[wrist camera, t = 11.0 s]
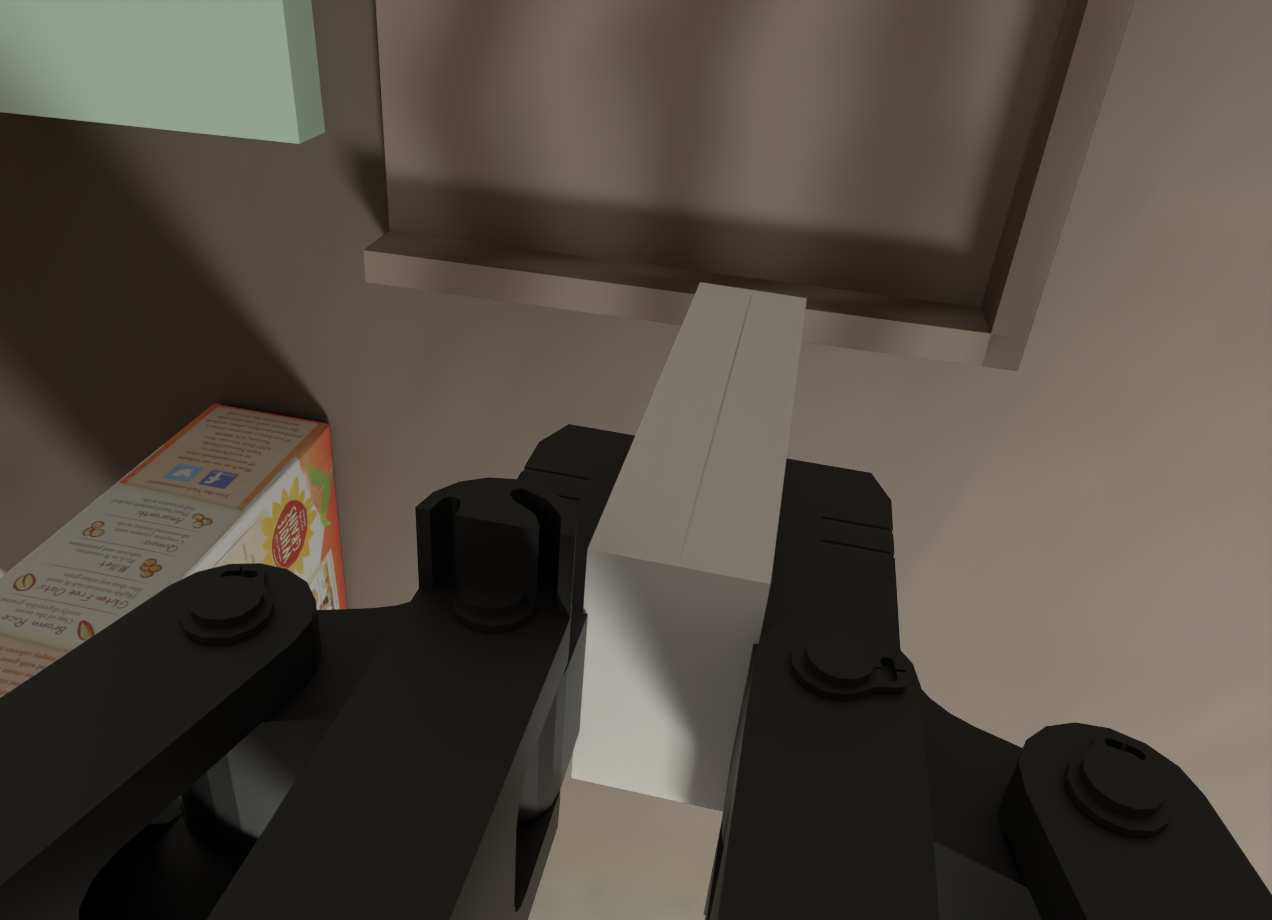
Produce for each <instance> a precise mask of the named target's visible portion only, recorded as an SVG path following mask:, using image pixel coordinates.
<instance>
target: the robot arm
mask: <svg viewBox="0 0 1272 920" xmlns="http://www.w3.org/2000/svg"><path fill="white" fill-rule="evenodd" d="M806 300H807V298H802V297H795V296H789V295H782V294H775V293H769V292H762V291H755V290H749V289H742V288H735V287H728V286H722V285H715V284H708V283H702V282H700V284H699V286H698V288H697V291H696V293H695V295H694V298H693V300H692V303H691V305H690V307H689V310H688V312H687V314H686V317H685V319H684V321H683V324H682V326H681V329H680V331H679V333H678V336H677V338H676V340H675V343H674V345H673V348H672V350H671V352H670V355H669V357H668V359H667V362H666V364H665V367H664V369H663V371H662V374H661V376H660V378H659V381H658V383H657V386H656V388H655V390H654V393H653V395H652V397H651V400H650V402H649V405H648V407H647V409H646V412H645V414H644V416H643V419H642V421H641V424H640V426H639V428H638V431H637V433H636V435H635V436H634V435H628V434H622V433H616V432H611V431H605V430H599V429H593V428H587V427H581V426H576V425H570V424H568V425H567V426H565V427H563V428H562V429H560V430H558V431H557V432H555V433H553V434H552V435H550V436H549V437H547V438H545V439H544V440H542V441H540V442H539V443H538V445H537V447H536V448H535V450H534V452H533V453H532V455H531V457H530V458H529V460H528V462H527V463H526V465H525V468H524V471H522V472H521V473H520V475H519V477H518V478H517V479H503V478H482V479H475V480H468V481H461V482H457V483H455V484H452V485H450V486H447V487H445V488H442V489H440V490H437V491H435V492H433V493H432V494H430V495H429V496H428V497H427V498H426V499H425V500H423V501H422V502H421V503H420V504H419V505H418V506H417V507H415V508H416V530H417V552H418V575H419V589H418V591H417V592H416V594H415V595H414V597H413V599H412V600H411V602H408V603H404V604H400V605H397V606H388V607H379V608H365V609H334V610H317V607H316V600H315V597H314V595H313V593H312V591H311V589H310V587H309V585H308V583H307V582H306V581H305V580H303V579H302V578H300V577H299V576H297V575H296V574H294V573H293V572H291V571H290V570H288V569H284V568H279V567H275V566H271V565H266V564H262V563H250V564H227V565H223V566H219V567H215V568H211V569H207V570H203V571H199V572H196V573H194V574H192V575H190V576H188V577H186V578H184V579H182V580H180V581H178V582H176V583H173V584H171V585H169V586H168V587H166V588H165V589H163V590H162V591H160V592H159V593H157V594H156V595H154V596H153V597H151V598H150V599H148V600H147V601H145V602H144V603H142V604H141V605H139V606H138V607H136V608H135V609H133V610H132V611H130V612H129V613H127V614H126V615H124V616H123V617H121V618H120V619H118V620H117V621H115V622H114V623H112V624H111V625H109V626H108V627H106V628H105V629H103V630H102V631H100V632H99V633H97V634H96V635H94V636H92V637H91V638H89V639H88V640H86V641H85V642H83V643H82V644H80V645H79V646H77V647H76V648H74V649H73V650H71V651H70V652H68V653H67V654H65V655H64V656H62V657H61V658H59V659H58V660H56V661H55V662H53V663H52V664H50V665H49V666H47V667H46V668H44V669H43V670H41V671H40V672H38V673H37V674H35V675H34V676H32V677H31V678H29V679H28V680H26V681H25V682H23V683H22V684H20V685H19V686H17V687H16V688H14V689H13V690H11V691H10V692H8V693H7V694H5V695H4V696H2V697H1V698H0V920H528V917H529V914H530V911H531V908H532V905H533V902H534V898H535V895H536V892H537V889H538V886H539V883H540V880H541V877H542V874H543V871H544V867H545V864H546V861H547V858H548V855H549V852H550V849H551V846H552V843H553V840H554V836H555V833H556V830H557V827H558V816H559V804H560V788H561V785H562V782H563V779H564V776H565V773H566V770H567V767H568V764H569V761H570V758H571V755H572V752H573V764H572V778H574V779H579V780H583V781H588V782H592V783H597V784H601V785H606V786H610V787H615V788H619V789H624V790H628V791H633V792H637V793H642V794H647V795H651V796H656V797H660V798H665V799H669V800H674V801H678V802H683V803H687V804H692V805H696V806H701V807H705V808H710V809H714V810H719V811H723V816H722V823H721V828H720V833H719V838H718V843H717V848H716V853H715V859H714V864H713V869H712V874H711V879H710V884H709V889H708V894H707V899H706V904H705V909H704V915H706V917H705V920H1272V894H1271V893H1270V891H1269V890H1268V889H1267V887H1266V886H1265V884H1264V883H1263V881H1262V880H1261V878H1260V877H1259V875H1258V874H1257V872H1256V871H1255V869H1254V868H1253V866H1252V865H1251V863H1250V862H1249V860H1248V859H1247V857H1246V856H1245V854H1244V853H1243V851H1242V850H1241V848H1240V847H1239V845H1238V844H1237V843H1236V841H1235V840H1234V838H1233V837H1232V835H1231V834H1230V832H1229V831H1228V829H1227V828H1226V826H1225V825H1224V823H1223V822H1222V820H1221V819H1220V817H1219V816H1218V814H1217V813H1216V811H1215V810H1214V808H1213V807H1212V805H1211V804H1210V802H1209V801H1208V799H1207V798H1206V796H1205V795H1204V794H1203V793H1202V792H1201V791H1200V790H1199V788H1198V787H1197V786H1196V785H1195V784H1194V783H1193V782H1192V781H1191V780H1190V778H1189V777H1188V776H1187V775H1186V774H1185V773H1184V772H1183V771H1182V769H1181V768H1180V767H1179V766H1177V765H1176V764H1174V763H1173V762H1171V761H1170V760H1169V759H1167V758H1166V757H1164V756H1163V755H1161V754H1160V753H1158V752H1157V751H1156V750H1154V749H1153V748H1151V747H1150V746H1148V745H1147V744H1145V743H1143V742H1141V741H1138V740H1136V739H1133V738H1131V737H1129V736H1126V735H1124V734H1122V733H1119V732H1117V731H1115V730H1112V729H1110V728H1104V727H1098V726H1093V725H1087V724H1081V723H1068V724H1061V725H1053V726H1046V727H1045V728H1043V729H1042V730H1040V731H1039V732H1037V733H1036V734H1034V735H1033V736H1032V737H1030V738H1029V739H1027V740H1026V742H1025V744H1024V747H1023V748H1021V747H1019V746H1017V745H1014V744H1012V743H1010V742H1008V741H1005V740H1003V739H1001V738H999V737H996V736H994V735H992V734H990V733H987V732H985V731H983V730H981V729H978V728H976V727H974V726H972V725H970V724H969V723H967V722H965V721H963V720H961V719H959V718H957V717H956V716H954V715H952V714H950V713H949V712H947V711H946V710H945V709H943V708H942V707H941V706H939V705H938V704H937V703H935V702H934V701H933V700H932V699H930V698H929V697H928V696H927V695H926V694H925V692H924V691H923V690H922V689H921V686H920V683H919V680H918V677H917V674H916V672H915V669H914V666H913V664H912V663H911V661H910V660H909V659H908V658H907V657H906V656H905V655H904V654H903V653H902V651H901V649H900V638H899V621H898V605H897V589H896V572H895V558H893V556H894V540H893V534H892V530H893V523H892V507H891V500H890V498H889V497H888V496H887V494H886V493H885V491H884V490H883V489H882V487H881V486H880V485H879V483H878V482H877V481H876V479H875V478H874V476H873V475H872V474H871V473H868V472H862V471H856V470H850V469H845V468H839V467H833V466H827V465H821V464H815V463H810V462H804V461H798V460H792V459H786V458H787V450H788V442H789V435H790V427H791V419H792V411H793V403H794V395H795V387H796V379H797V371H798V363H799V355H800V347H801V340H802V332H803V324H804V316H805V308H806Z"/></svg>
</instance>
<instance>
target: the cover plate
mask: <svg viewBox="0 0 1272 920" xmlns="http://www.w3.org/2000/svg"><path fill="white" fill-rule="evenodd" d="M0 112H4V113H13V114H23V115H32V116H42V117H51V118H61V119H70V120H80V121H89V122H99V123H108V124H117V125H127V126H136V127H146V128H155V129H165V130H174V131H184V132H193V133H202V134H212V135H221V136H231V137H240V138H250V139H259V140H269V141H278V142H288V143H297V144H300V143H302V142H305V141H307V140H309V139H311V138H313V137H315V136H318V135H320V134H322V133H324V132H325V128H324V119H323V109H322V100H321V90H320V80H319V71H318V61H317V52H316V42H315V33H314V23H313V14H312V4H311V0H0Z"/></svg>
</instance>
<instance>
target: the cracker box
mask: <svg viewBox="0 0 1272 920" xmlns="http://www.w3.org/2000/svg"><path fill="white" fill-rule="evenodd" d="M250 563H262V564H266V565H271V566H275V567H279V568H284V569H288V570H290V571H291V572H293V573H294V574H296V575H297V576H299V577H300V578H302V579H303V580H305V581H306V582H307V583H308V585H309V587H310V589H311V591H312V593H313V595H314V597H315V600H316V607H317V610H334V609H347V602H346V592H345V581H344V574H343V563H342V553H341V543H340V531H339V521H338V511H337V501H336V491H335V480H334V472H333V460H332V450H331V440H330V431H329V425H328V424H327V423H323V422H318V421H312V420H306V419H301V418H295V417H289V416H283V415H278V414H272V413H267V412H261V411H255V410H249V409H244V408H237V407H231V406H226V405H221V404H217V403H215V404H212V405H211V406H210V407H209V408H208V409H206V410H205V411H204V412H203V413H201V414H200V415H199V416H198V417H197V418H195V419H194V420H193V421H192V422H190V423H189V424H188V425H187V426H185V427H184V428H183V429H182V430H180V431H179V432H178V433H177V434H175V435H174V436H173V437H172V438H171V439H170V440H168V441H167V442H166V443H165V444H164V445H162V446H161V447H160V448H158V449H157V450H156V451H155V452H153V453H152V454H151V455H150V456H148V457H147V458H146V459H145V460H143V461H142V462H141V463H140V464H138V465H137V466H136V467H135V468H134V469H133V470H132V471H130V472H129V473H128V474H126V475H125V476H124V477H123V478H122V479H120V480H119V481H118V482H117V483H116V484H114V485H113V486H112V487H111V488H110V489H109V490H107V491H106V492H105V493H104V494H102V495H101V496H100V497H98V498H97V499H96V500H95V501H94V502H92V503H91V504H90V505H89V506H88V507H86V508H85V509H84V510H83V511H81V512H80V513H79V514H78V515H77V516H75V517H74V518H73V519H72V520H70V521H69V522H68V523H67V524H66V525H64V526H63V527H62V528H61V529H59V530H58V531H57V532H56V533H55V534H53V535H52V536H51V537H50V538H49V539H47V540H46V541H45V542H44V543H42V544H41V545H40V546H39V547H38V548H36V549H35V550H34V551H33V552H31V553H30V554H29V555H28V556H27V557H25V558H24V559H23V560H22V561H20V562H19V563H18V564H17V565H16V566H14V567H13V568H12V569H11V570H9V571H8V572H7V573H6V574H5V575H3V576H2V577H1V578H0V698H1V697H2V696H4V695H5V694H7V693H8V692H10V691H11V690H13V689H14V688H16V687H17V686H19V685H20V684H22V683H23V682H25V681H26V680H28V679H29V678H31V677H32V676H34V675H35V674H37V673H38V672H40V671H41V670H43V669H44V668H46V667H47V666H49V665H50V664H52V663H53V662H55V661H56V660H58V659H59V658H61V657H62V656H64V655H65V654H67V653H68V652H70V651H71V650H73V649H74V648H76V647H77V646H79V645H80V644H82V643H83V642H85V641H86V640H88V639H89V638H91V637H92V636H94V635H96V634H97V633H99V632H100V631H102V630H103V629H105V628H106V627H108V626H109V625H111V624H112V623H114V622H115V621H117V620H118V619H120V618H121V617H123V616H124V615H126V614H127V613H129V612H130V611H132V610H133V609H135V608H136V607H138V606H139V605H141V604H142V603H144V602H145V601H147V600H148V599H150V598H151V597H153V596H154V595H156V594H157V593H159V592H160V591H162V590H163V589H165V588H166V587H168V586H169V585H171V584H173V583H176V582H178V581H180V580H182V579H184V578H186V577H188V576H190V575H192V574H194V573H196V572H199V571H203V570H207V569H211V568H215V567H219V566H223V565H227V564H250Z"/></svg>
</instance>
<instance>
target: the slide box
mask: <svg viewBox="0 0 1272 920" xmlns="http://www.w3.org/2000/svg"><path fill="white" fill-rule="evenodd" d="M1133 3H1134V0H376V15H377V31H378V48H379V65H380V81H381V98H382V115H383V131H384V148H385V165H386V181H387V198H388V215H389V231H388V232H387V233H386V234H384V235H383V236H382V237H380V238H379V239H378V240H376V241H375V242H374V243H372V244H371V245H370V246H368V247H367V248H366V249H364V264H365V277H366V282H369V283H376V284H384V285H391V286H398V287H406V288H413V289H420V290H428V291H435V292H442V293H450V294H457V295H464V296H471V297H479V298H486V299H493V300H501V301H508V302H515V303H523V304H530V305H537V306H545V307H552V308H559V309H567V310H574V311H581V312H589V313H596V314H603V315H611V316H618V317H625V318H632V319H640V320H647V321H654V322H662V323H669V324H676V325H682V324H683V321H684V319H685V317H686V314H687V312H688V310H689V307H690V305H691V303H692V300H693V298H694V295H695V293H696V291H697V288H698V286H699V284H700V282H702V283H708V284H715V285H722V286H728V287H735V288H742V289H749V290H755V291H762V292H769V293H775V294H782V295H789V296H795V297H802V298H807V300H806V308H805V316H804V324H803V332H802V340H801V342H808V343H815V344H823V345H830V346H837V347H845V348H852V349H859V350H867V351H874V352H881V353H889V354H896V355H903V356H911V357H918V358H925V359H932V360H940V361H947V362H954V363H962V364H969V365H976V366H984V367H991V368H998V369H1006V370H1013V371H1018V368H1019V365H1020V362H1021V359H1022V356H1023V352H1024V349H1025V346H1026V343H1027V340H1028V337H1029V333H1030V330H1031V327H1032V324H1033V321H1034V318H1035V314H1036V311H1037V308H1038V305H1039V302H1040V298H1041V295H1042V292H1043V289H1044V286H1045V283H1046V279H1047V276H1048V273H1049V270H1050V267H1051V264H1052V260H1053V257H1054V254H1055V251H1056V248H1057V244H1058V241H1059V238H1060V235H1061V232H1062V229H1063V225H1064V222H1065V219H1066V216H1067V213H1068V210H1069V206H1070V203H1071V200H1072V197H1073V194H1074V190H1075V187H1076V184H1077V181H1078V178H1079V175H1080V171H1081V168H1082V165H1083V162H1084V159H1085V156H1086V152H1087V149H1088V146H1089V143H1090V140H1091V136H1092V133H1093V130H1094V127H1095V124H1096V121H1097V117H1098V114H1099V111H1100V108H1101V105H1102V102H1103V98H1104V95H1105V92H1106V89H1107V86H1108V82H1109V79H1110V76H1111V73H1112V70H1113V67H1114V63H1115V60H1116V57H1117V54H1118V51H1119V48H1120V44H1121V41H1122V38H1123V35H1124V32H1125V28H1126V25H1127V22H1128V19H1129V16H1130V13H1131V9H1132V6H1133Z"/></svg>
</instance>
